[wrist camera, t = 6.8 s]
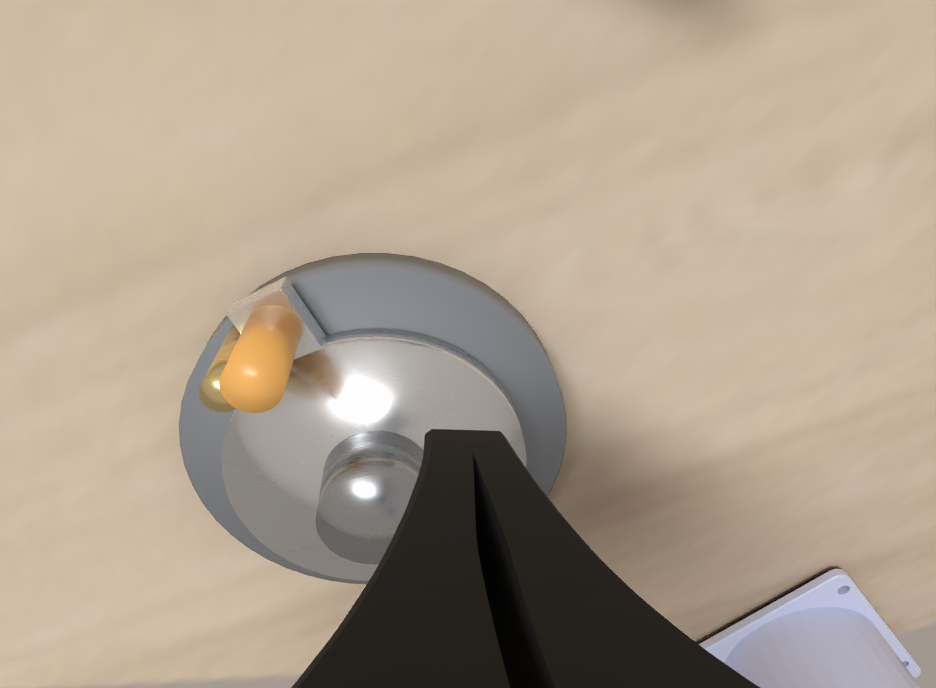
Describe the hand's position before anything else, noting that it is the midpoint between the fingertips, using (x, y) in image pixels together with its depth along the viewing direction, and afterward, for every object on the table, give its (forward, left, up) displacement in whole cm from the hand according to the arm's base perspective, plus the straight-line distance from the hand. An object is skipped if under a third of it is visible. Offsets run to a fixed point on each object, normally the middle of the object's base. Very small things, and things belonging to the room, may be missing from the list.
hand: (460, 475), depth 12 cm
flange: (-2, +5, -7) cm, 9 cm away
